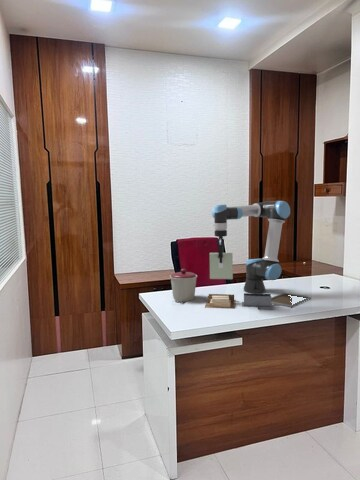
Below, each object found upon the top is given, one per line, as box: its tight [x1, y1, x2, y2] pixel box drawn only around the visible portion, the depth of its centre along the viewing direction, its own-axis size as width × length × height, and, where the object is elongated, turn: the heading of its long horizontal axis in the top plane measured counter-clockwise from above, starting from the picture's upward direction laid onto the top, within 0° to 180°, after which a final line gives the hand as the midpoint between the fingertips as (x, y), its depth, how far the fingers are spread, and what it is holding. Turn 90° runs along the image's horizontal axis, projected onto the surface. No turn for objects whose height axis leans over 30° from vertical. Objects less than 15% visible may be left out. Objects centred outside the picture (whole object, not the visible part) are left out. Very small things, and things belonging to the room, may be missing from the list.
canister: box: [169, 268, 198, 303], centre depth 231 cm, size 18×18×21 cm
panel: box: [209, 252, 234, 280], centre depth 220 cm, size 2×14×16 cm, turn 80°
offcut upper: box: [212, 296, 229, 303], centre depth 214 cm, size 7×10×2 cm
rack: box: [204, 293, 237, 310], centre depth 218 cm, size 20×18×6 cm
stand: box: [241, 292, 274, 311], centre depth 214 cm, size 10×18×8 cm, turn 80°
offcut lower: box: [210, 299, 231, 307], centre depth 214 cm, size 8×12×2 cm, turn 80°
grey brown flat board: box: [271, 292, 312, 309], centre depth 227 cm, size 19×2×30 cm
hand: (221, 267), depth 220 cm, fingers closed on panel, 2 cm apart
